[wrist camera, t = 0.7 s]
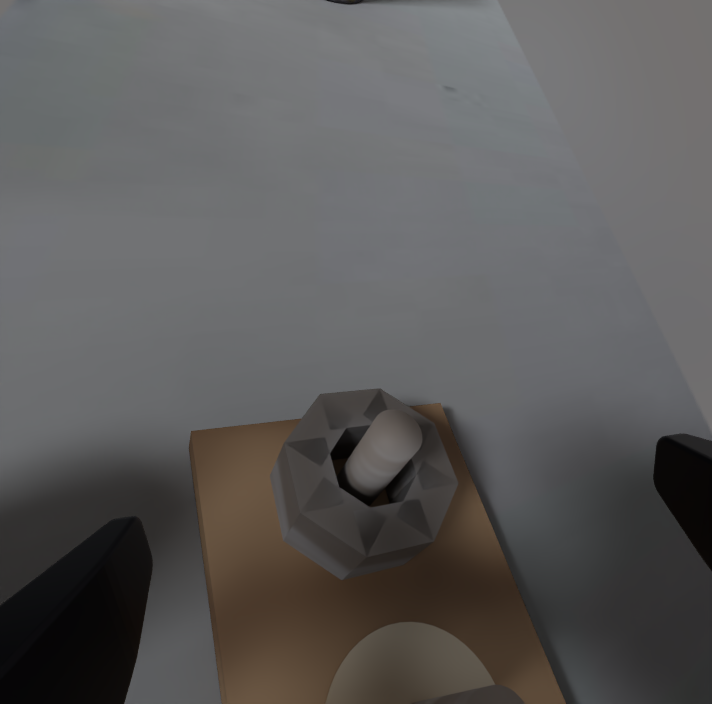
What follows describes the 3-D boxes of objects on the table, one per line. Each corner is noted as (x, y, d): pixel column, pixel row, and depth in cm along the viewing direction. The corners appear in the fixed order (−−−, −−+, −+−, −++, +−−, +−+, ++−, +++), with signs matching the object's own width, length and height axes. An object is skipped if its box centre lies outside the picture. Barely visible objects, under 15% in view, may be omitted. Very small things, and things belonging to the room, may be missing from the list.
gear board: (580, 799, 20) (741, 813, 14) (256, 972, 15) (319, 1091, 9) (428, 417, 28) (494, 336, 22) (188, 447, 23) (201, 352, 18)
